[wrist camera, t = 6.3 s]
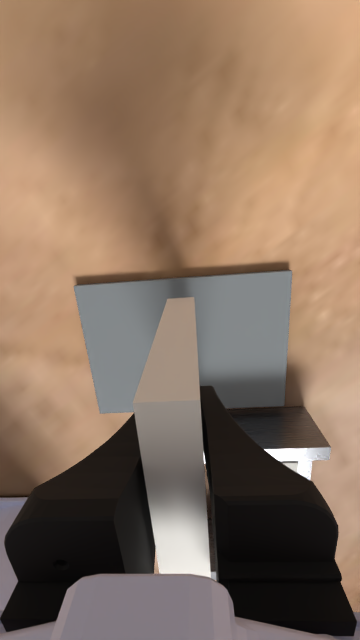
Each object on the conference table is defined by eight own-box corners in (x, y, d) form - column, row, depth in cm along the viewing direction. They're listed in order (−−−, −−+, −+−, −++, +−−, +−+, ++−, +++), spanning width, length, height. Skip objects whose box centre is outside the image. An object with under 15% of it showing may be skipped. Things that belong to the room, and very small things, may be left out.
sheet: (177, 410, 18) (164, 604, 9) (167, 298, 16) (132, 402, 6) (201, 409, 18) (212, 604, 9) (194, 296, 16) (200, 400, 6)
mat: (102, 409, 21) (99, 413, 20) (76, 284, 18) (73, 286, 17) (281, 401, 20) (284, 406, 19) (289, 269, 17) (292, 271, 16)
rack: (176, 526, 25) (173, 579, 21) (162, 412, 21) (156, 452, 17) (293, 524, 24) (313, 579, 20) (304, 406, 20) (331, 447, 16)
